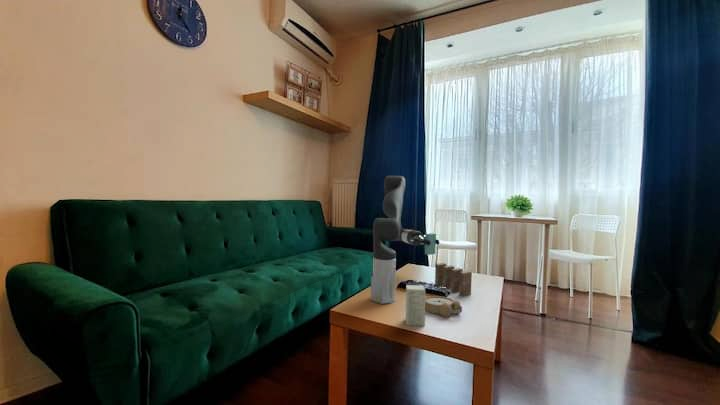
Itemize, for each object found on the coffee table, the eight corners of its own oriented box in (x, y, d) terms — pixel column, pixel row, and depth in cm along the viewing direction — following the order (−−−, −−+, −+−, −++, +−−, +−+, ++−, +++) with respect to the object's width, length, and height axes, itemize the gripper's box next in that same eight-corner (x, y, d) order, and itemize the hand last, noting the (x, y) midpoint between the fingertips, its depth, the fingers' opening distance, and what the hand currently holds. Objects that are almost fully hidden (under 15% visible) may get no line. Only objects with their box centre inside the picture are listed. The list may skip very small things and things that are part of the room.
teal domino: (435, 253, 140) (436, 233, 139) (427, 254, 137) (428, 234, 137) (432, 253, 141) (433, 233, 141) (424, 253, 139) (425, 233, 138)
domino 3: (462, 290, 128) (462, 269, 128) (454, 292, 126) (454, 270, 126) (458, 289, 130) (459, 267, 130) (450, 291, 128) (451, 269, 127)
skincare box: (423, 320, 97) (424, 285, 97) (425, 326, 93) (426, 289, 93) (404, 318, 98) (405, 284, 98) (405, 324, 94) (406, 288, 93)
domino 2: (453, 287, 133) (454, 266, 132) (445, 289, 130) (446, 267, 130) (450, 286, 134) (451, 265, 134) (442, 287, 132) (443, 266, 132)
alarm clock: (437, 294, 115) (468, 299, 103) (438, 306, 115) (470, 313, 102) (417, 299, 109) (448, 305, 97) (418, 312, 109) (450, 320, 96)
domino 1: (445, 284, 137) (446, 263, 137) (437, 285, 135) (438, 264, 134) (442, 283, 139) (443, 262, 138) (435, 284, 136) (435, 263, 136)
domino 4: (470, 294, 124) (471, 271, 124) (462, 296, 122) (463, 273, 121) (467, 293, 126) (468, 270, 125) (459, 294, 123) (460, 271, 123)
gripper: (401, 230, 148) (423, 235, 133) (422, 229, 155) (445, 234, 140) (400, 245, 148) (422, 251, 133) (421, 243, 155) (445, 249, 140)
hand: (434, 242), depth 137 cm, fingers closed on teal domino, 5 cm apart
